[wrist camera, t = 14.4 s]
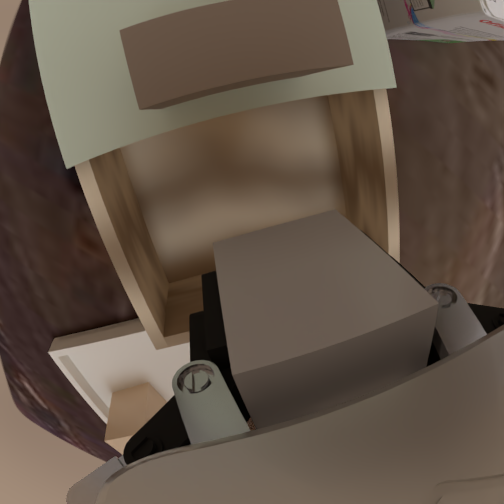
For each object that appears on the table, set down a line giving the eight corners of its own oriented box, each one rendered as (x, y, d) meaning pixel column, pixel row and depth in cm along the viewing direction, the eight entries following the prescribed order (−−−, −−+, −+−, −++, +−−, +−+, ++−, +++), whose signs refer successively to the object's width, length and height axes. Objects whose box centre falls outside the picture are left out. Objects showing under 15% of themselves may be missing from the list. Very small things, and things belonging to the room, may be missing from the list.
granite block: (344, 306, 13) (413, 413, 8) (243, 337, 13) (273, 464, 8) (335, 209, 11) (438, 303, 6) (212, 242, 11) (232, 374, 6)
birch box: (353, 235, 25) (399, 278, 19) (163, 289, 24) (156, 350, 18) (328, 69, 19) (380, 59, 13) (104, 125, 18) (65, 135, 12)
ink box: (437, -6, 17) (540, -25, 6) (449, 44, 19) (559, 44, 8) (354, -17, 16) (458, -70, 6) (369, 40, 18) (488, 16, 8)
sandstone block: (172, 407, 30) (172, 455, 24) (137, 416, 30) (133, 462, 24) (148, 382, 28) (144, 432, 22) (112, 392, 28) (104, 440, 22)
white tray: (243, 397, 31) (246, 411, 30) (117, 420, 31) (115, 433, 29) (205, 300, 25) (206, 315, 24) (54, 337, 25) (48, 352, 23)
